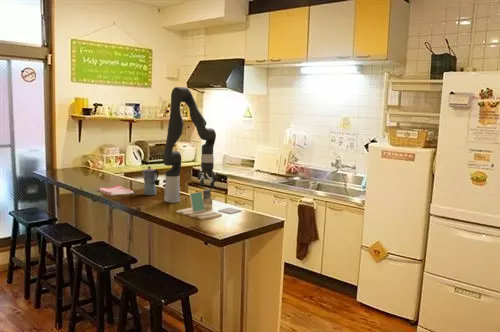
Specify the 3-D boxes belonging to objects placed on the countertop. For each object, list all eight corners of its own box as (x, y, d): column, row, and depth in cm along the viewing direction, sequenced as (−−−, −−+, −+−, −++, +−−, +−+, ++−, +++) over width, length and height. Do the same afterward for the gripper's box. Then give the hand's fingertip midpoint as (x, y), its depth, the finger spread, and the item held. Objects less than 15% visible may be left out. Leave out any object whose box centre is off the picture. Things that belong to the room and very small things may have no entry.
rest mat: (218, 211, 255) (218, 210, 255) (229, 208, 263) (229, 207, 263) (230, 214, 249) (230, 213, 249) (241, 211, 256) (241, 210, 256)
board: (175, 212, 248) (175, 210, 248) (193, 208, 259) (193, 206, 259) (204, 220, 233) (204, 218, 233) (221, 216, 244) (221, 213, 243)
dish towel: (120, 189, 315) (120, 184, 315) (134, 194, 298) (134, 189, 297) (97, 191, 304) (97, 186, 303) (111, 197, 287) (111, 192, 286)
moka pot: (147, 192, 304) (147, 164, 302) (163, 195, 297) (163, 166, 294) (137, 194, 296) (137, 166, 294) (154, 197, 288) (154, 168, 286)
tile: (189, 193, 243) (190, 193, 242) (200, 191, 250) (201, 191, 249) (192, 212, 242) (193, 212, 242) (203, 210, 249) (204, 209, 249)
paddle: (201, 210, 257) (201, 190, 255) (209, 208, 262) (209, 189, 260) (204, 210, 255) (204, 191, 253) (212, 208, 260) (212, 189, 259)
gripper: (194, 160, 256) (194, 187, 258) (211, 162, 247) (210, 190, 249) (203, 160, 262) (203, 185, 264) (220, 162, 253) (219, 188, 255)
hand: (207, 187), depth 256 cm, fingers open, 8 cm apart
